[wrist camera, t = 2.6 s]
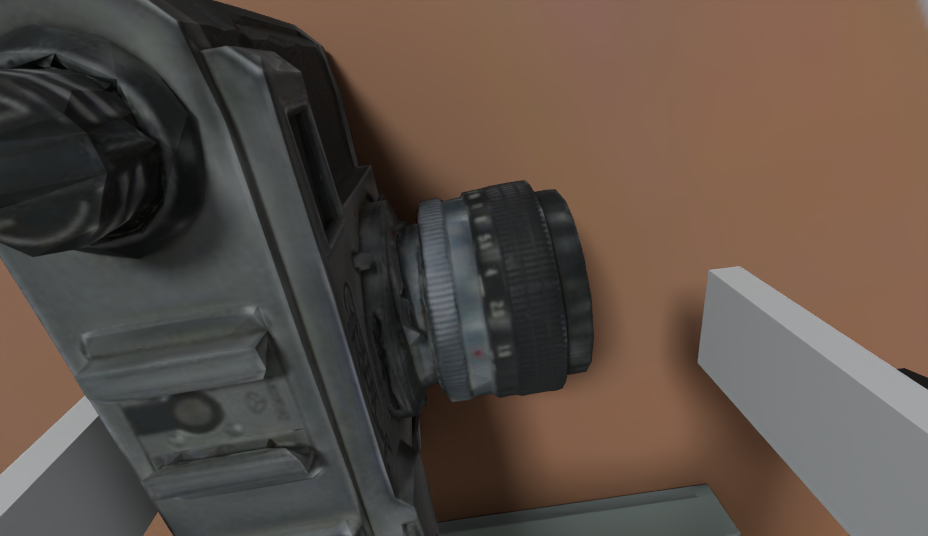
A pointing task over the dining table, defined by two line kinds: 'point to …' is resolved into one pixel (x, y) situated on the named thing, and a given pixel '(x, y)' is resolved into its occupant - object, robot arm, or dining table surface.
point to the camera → (259, 268)
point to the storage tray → (610, 517)
